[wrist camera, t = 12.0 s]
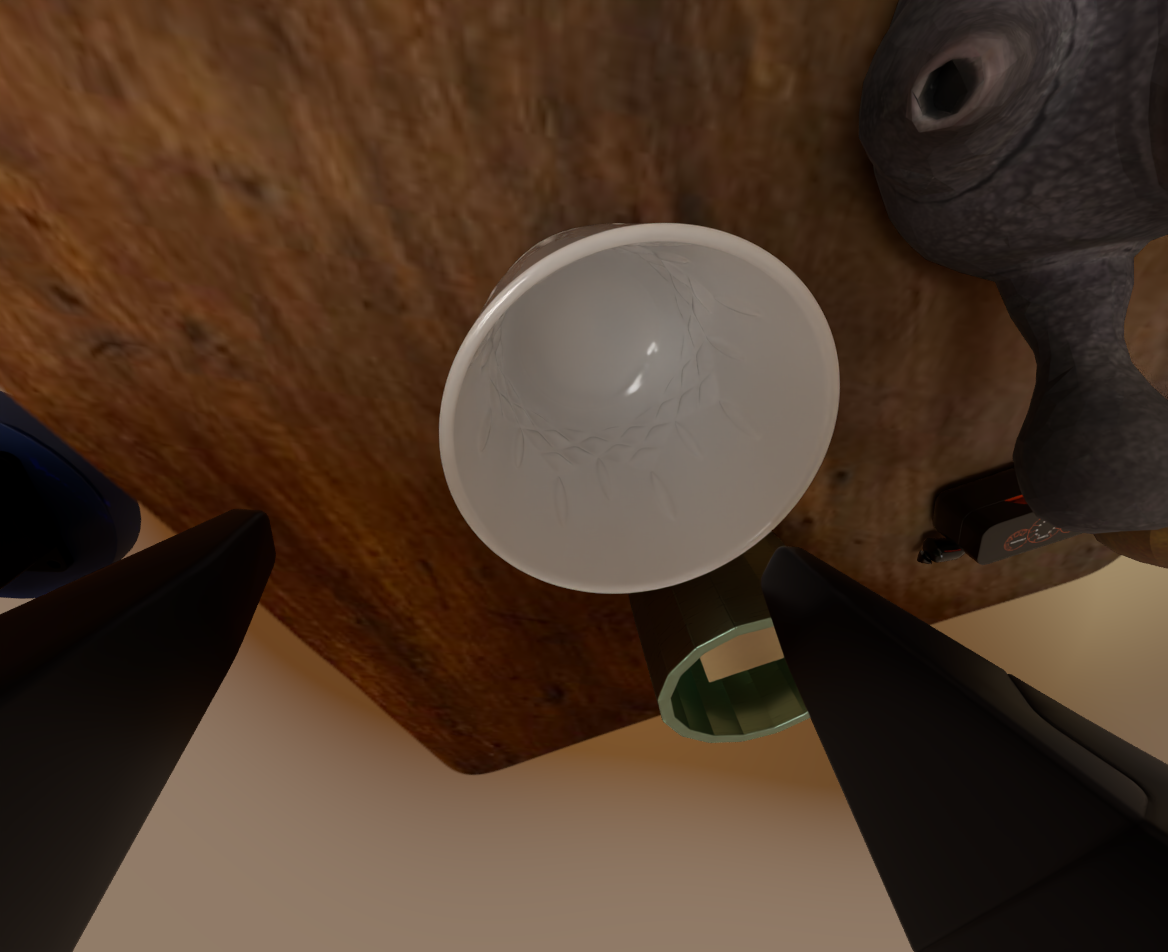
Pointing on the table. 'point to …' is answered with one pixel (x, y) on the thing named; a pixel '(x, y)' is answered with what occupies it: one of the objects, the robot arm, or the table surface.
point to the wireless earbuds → (987, 522)
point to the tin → (701, 623)
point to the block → (742, 654)
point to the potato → (1139, 545)
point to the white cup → (637, 405)
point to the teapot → (1042, 215)
